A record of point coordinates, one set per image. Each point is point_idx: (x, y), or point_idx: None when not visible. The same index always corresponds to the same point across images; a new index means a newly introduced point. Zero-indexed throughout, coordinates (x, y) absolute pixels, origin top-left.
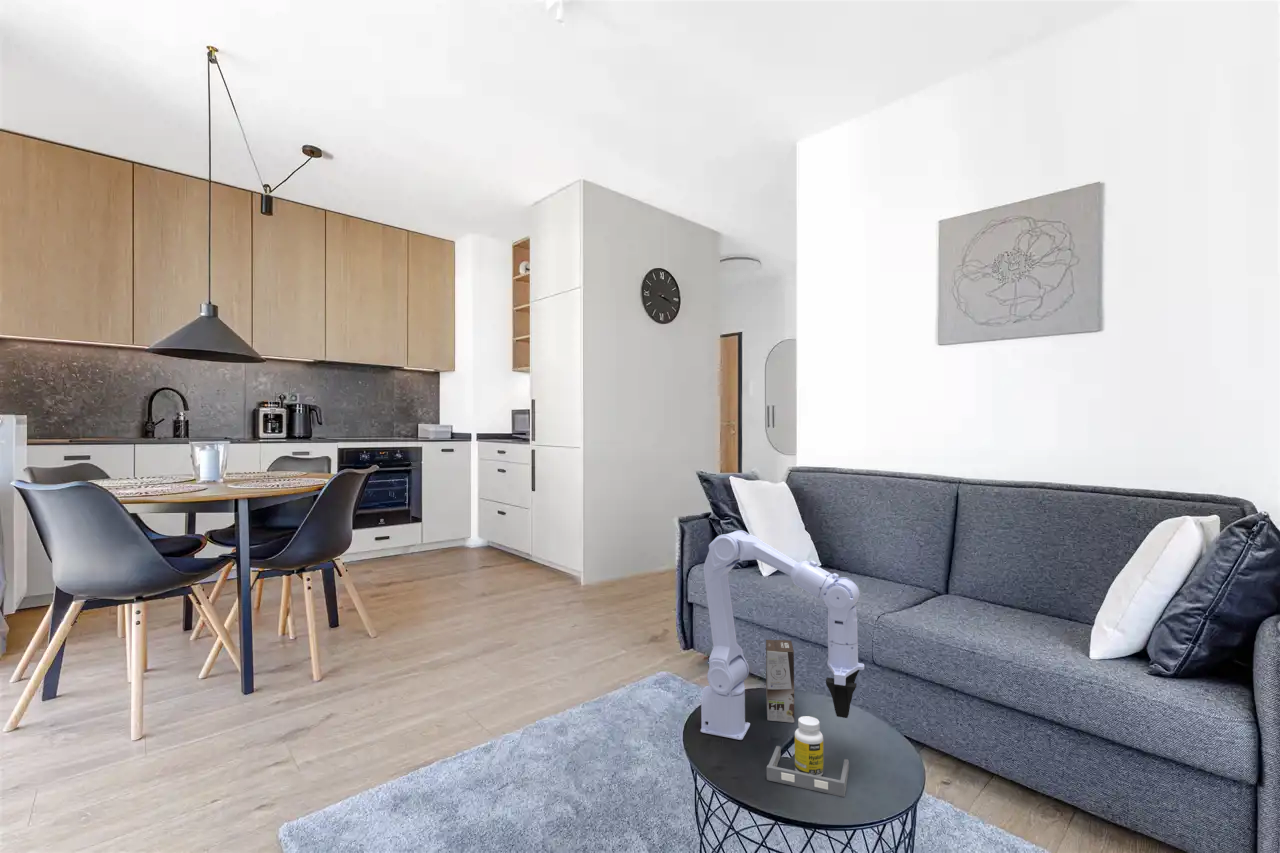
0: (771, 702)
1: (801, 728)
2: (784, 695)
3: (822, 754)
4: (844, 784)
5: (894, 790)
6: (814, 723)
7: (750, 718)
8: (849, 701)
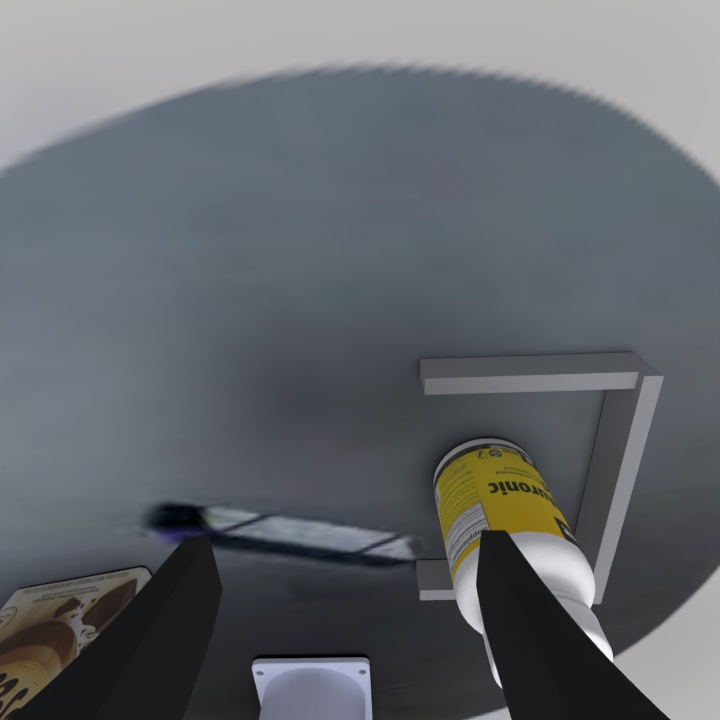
0: None
1: None
2: None
3: (524, 489)
4: (644, 371)
5: (521, 163)
6: None
7: (202, 663)
8: (606, 662)
